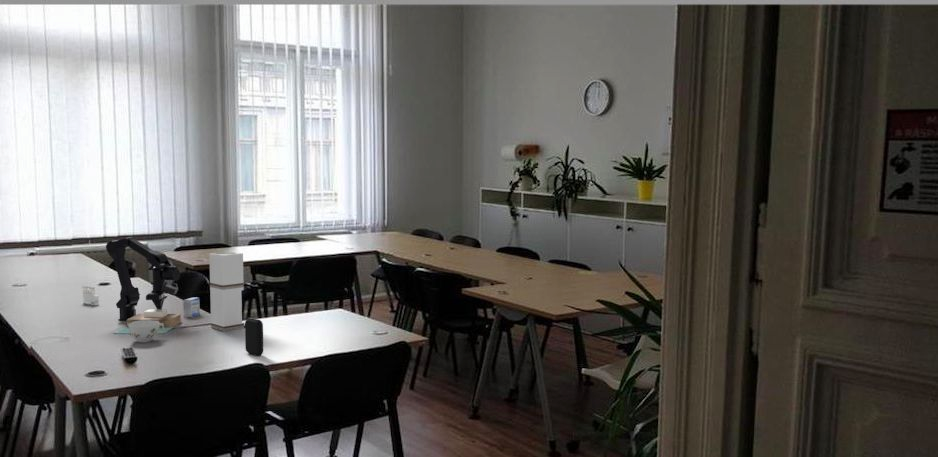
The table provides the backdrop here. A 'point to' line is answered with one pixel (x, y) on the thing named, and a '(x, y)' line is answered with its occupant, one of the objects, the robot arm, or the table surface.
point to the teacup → (144, 330)
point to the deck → (158, 319)
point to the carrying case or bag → (254, 336)
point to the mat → (127, 331)
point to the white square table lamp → (226, 290)
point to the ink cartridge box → (90, 296)
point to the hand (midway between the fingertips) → (159, 311)
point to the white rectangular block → (155, 313)
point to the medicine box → (191, 307)
